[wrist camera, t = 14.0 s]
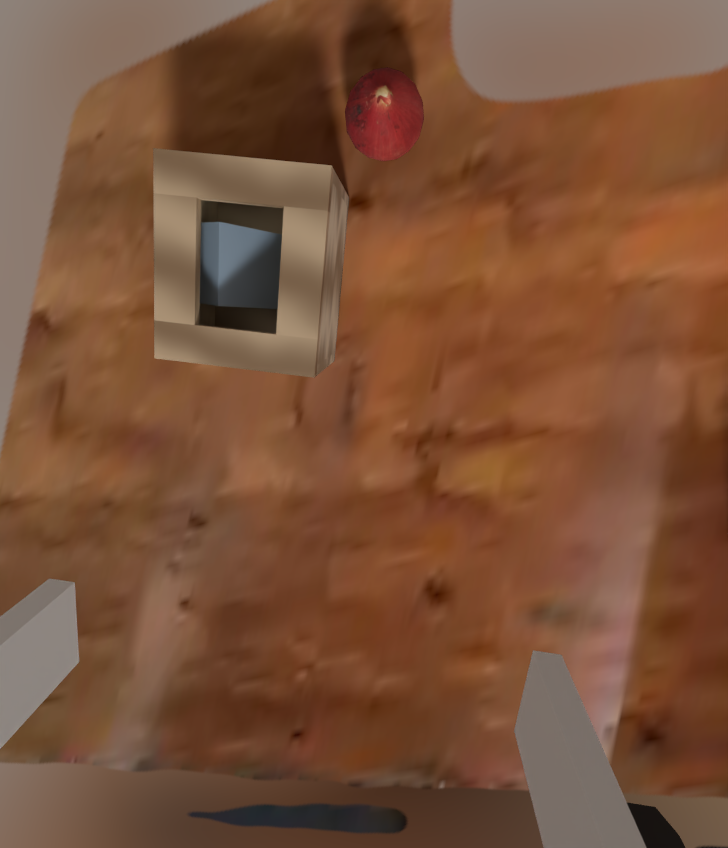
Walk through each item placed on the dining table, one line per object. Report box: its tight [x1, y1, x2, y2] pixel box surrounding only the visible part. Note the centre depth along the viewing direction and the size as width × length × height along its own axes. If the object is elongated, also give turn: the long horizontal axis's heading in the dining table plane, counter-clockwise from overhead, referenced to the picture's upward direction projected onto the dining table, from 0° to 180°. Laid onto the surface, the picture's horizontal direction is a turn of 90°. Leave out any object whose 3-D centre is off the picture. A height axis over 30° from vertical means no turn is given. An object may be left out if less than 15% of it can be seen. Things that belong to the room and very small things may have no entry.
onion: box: [345, 67, 424, 161], centre depth 35 cm, size 6×6×8 cm
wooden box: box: [153, 148, 349, 377], centre depth 38 cm, size 14×12×10 cm
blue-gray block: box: [200, 222, 282, 309], centre depth 39 cm, size 6×4×6 cm
